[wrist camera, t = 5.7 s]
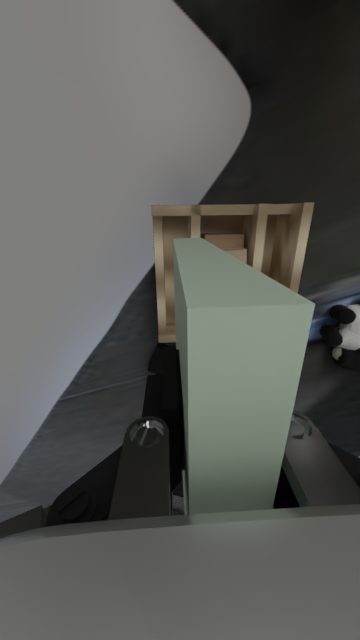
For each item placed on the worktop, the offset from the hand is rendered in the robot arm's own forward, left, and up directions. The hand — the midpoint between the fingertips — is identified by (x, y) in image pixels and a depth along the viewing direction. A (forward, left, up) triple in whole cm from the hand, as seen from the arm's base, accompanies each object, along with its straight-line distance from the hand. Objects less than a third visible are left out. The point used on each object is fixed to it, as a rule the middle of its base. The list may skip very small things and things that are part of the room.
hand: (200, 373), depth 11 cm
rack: (0, +5, -23) cm, 24 cm away
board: (0, 0, -8) cm, 8 cm away
